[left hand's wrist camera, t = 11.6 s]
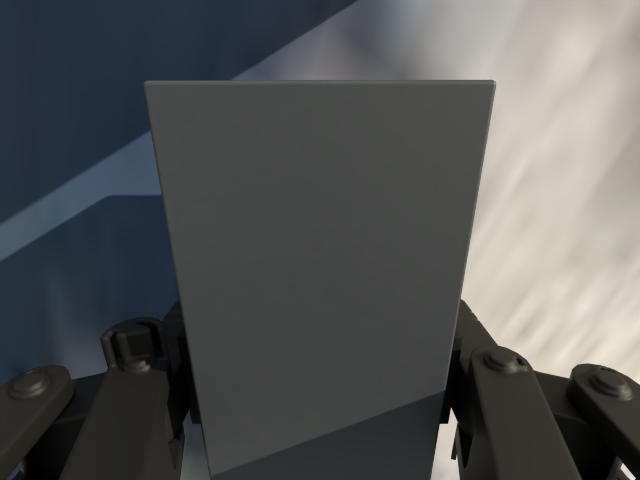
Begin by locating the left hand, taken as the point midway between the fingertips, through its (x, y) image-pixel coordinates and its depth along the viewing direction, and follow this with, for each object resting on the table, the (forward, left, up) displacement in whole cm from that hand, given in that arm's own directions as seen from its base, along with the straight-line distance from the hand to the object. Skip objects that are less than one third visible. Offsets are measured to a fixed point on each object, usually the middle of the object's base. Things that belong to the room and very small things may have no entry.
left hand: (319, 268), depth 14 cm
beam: (+23, +5, -1) cm, 23 cm away
